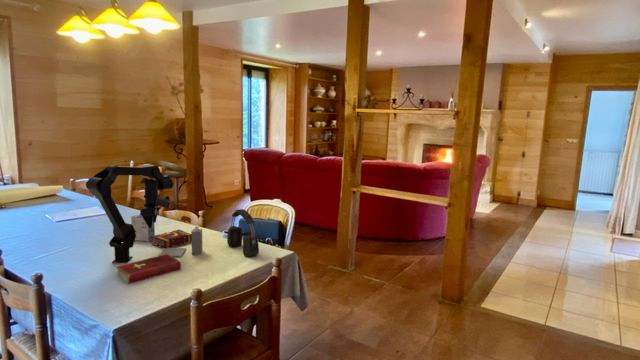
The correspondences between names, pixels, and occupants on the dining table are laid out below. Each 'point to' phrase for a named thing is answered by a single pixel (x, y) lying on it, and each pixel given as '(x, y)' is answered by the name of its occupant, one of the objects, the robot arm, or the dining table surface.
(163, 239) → the decorative book
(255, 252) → the headphones
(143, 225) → the ink cartridge box
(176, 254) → the plate
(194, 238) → the grey tall piece
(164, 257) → the hardcover book
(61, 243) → the dining table surface
